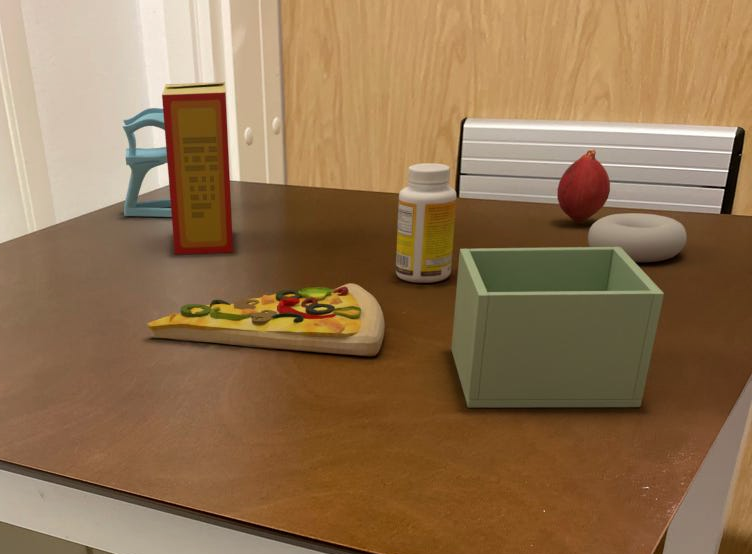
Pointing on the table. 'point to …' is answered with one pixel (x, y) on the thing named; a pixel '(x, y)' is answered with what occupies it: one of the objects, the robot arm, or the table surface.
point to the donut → (639, 235)
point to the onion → (583, 188)
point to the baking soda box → (198, 167)
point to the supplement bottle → (426, 224)
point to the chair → (144, 165)
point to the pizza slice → (285, 321)
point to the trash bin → (553, 327)
